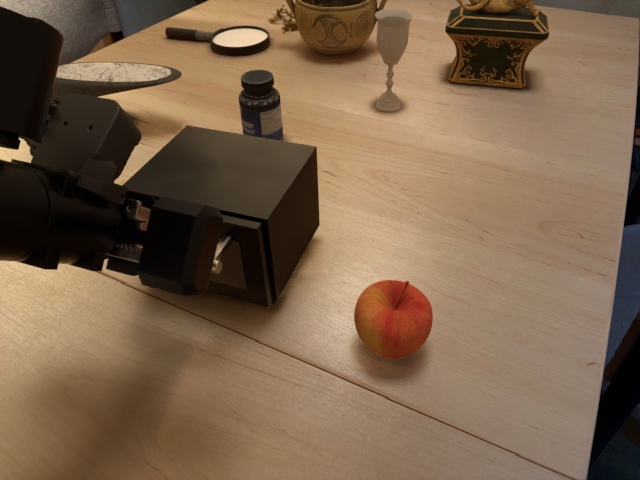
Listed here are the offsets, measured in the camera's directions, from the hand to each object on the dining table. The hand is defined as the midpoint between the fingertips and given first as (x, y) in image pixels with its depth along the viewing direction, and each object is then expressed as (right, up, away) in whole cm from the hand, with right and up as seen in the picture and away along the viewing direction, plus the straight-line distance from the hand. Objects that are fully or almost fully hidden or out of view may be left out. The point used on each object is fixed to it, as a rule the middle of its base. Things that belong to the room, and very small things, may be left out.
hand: (158, 235), depth 46 cm
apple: (+21, -11, +7) cm, 25 cm away
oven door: (+1, -7, +9) cm, 11 cm away
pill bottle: (+5, +15, +36) cm, 40 cm away
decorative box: (+43, +30, +52) cm, 74 cm away
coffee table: (-19, +19, +42) cm, 50 cm away
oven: (+4, -3, +17) cm, 18 cm away
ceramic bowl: (+17, +39, +64) cm, 77 cm away
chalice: (+26, +23, +45) cm, 56 cm away
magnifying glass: (-8, +42, +68) cm, 81 cm away
